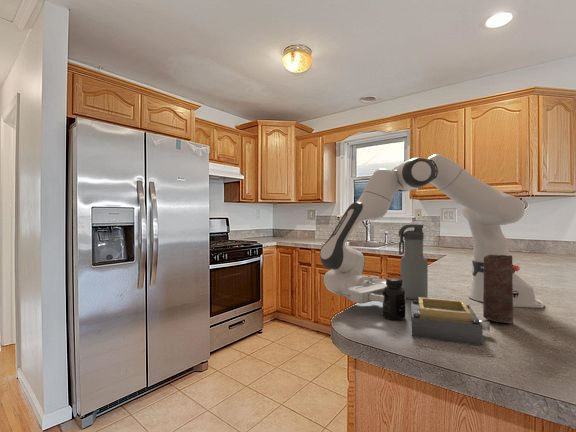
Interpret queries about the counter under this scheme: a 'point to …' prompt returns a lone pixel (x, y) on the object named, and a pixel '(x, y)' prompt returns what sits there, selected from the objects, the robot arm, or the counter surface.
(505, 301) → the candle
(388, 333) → the counter surface
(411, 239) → the water bottle
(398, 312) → the supplement bottle
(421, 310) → the grey and tan box
